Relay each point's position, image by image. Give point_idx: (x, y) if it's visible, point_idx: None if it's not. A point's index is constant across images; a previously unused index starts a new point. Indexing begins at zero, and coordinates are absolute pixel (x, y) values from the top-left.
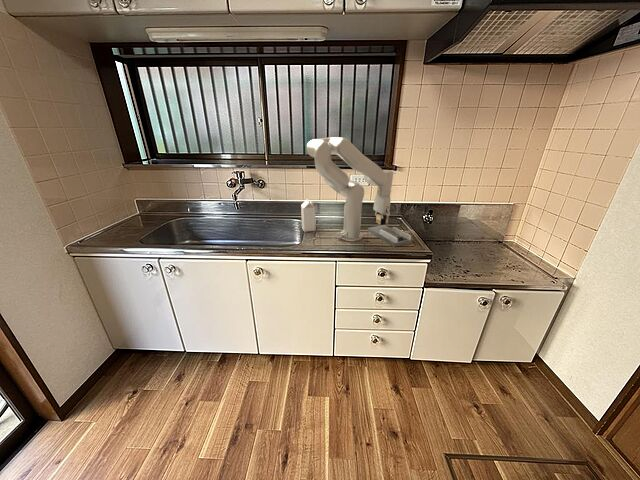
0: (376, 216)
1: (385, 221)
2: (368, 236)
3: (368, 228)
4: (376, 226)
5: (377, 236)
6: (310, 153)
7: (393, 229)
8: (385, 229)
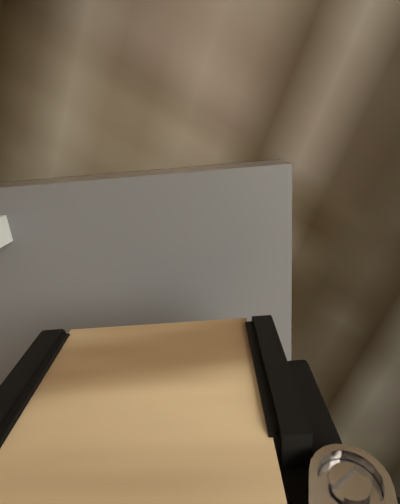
0: (257, 425)
1: None
2: (78, 56)
3: (272, 164)
4: (285, 317)
5: (31, 180)
6: None
7: None
8: None
